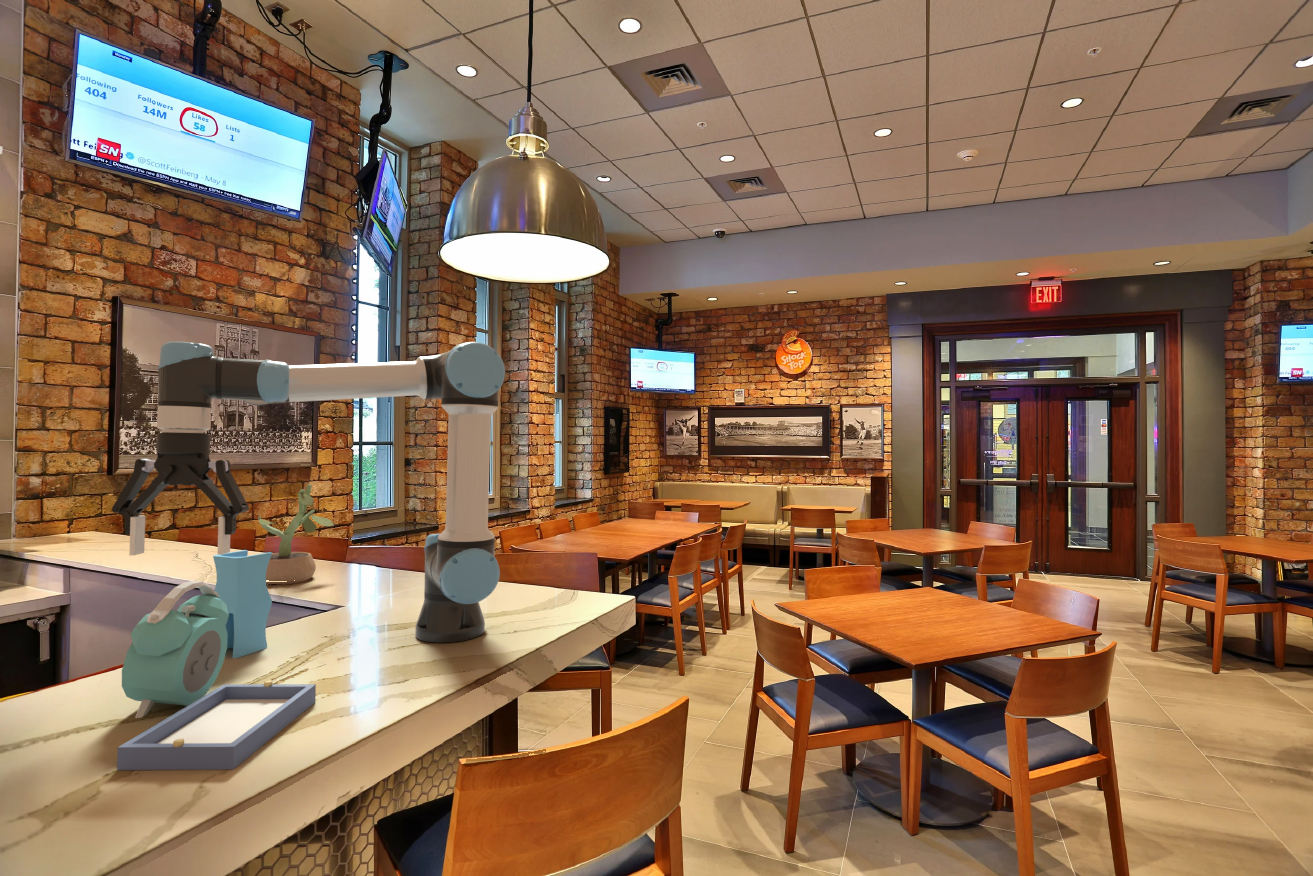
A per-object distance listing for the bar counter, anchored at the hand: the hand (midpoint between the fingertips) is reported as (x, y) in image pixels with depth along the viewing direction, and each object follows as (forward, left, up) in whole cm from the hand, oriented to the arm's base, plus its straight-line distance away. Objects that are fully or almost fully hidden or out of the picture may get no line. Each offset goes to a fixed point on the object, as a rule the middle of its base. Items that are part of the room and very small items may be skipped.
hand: (180, 554), depth 111 cm
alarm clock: (-3, +5, -24) cm, 25 cm away
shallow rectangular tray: (-18, +16, -24) cm, 34 cm away
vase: (+3, -22, -24) cm, 33 cm away
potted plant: (+27, -89, -24) cm, 96 cm away
